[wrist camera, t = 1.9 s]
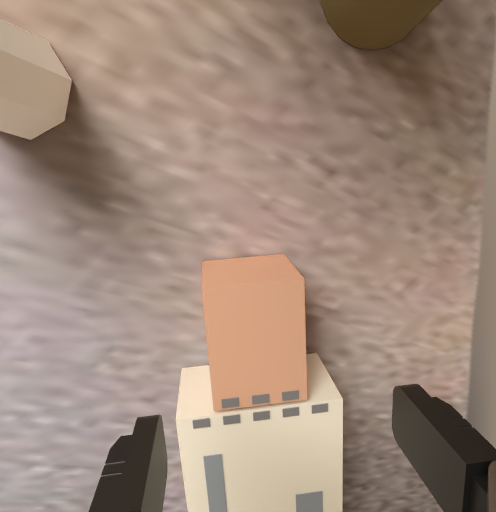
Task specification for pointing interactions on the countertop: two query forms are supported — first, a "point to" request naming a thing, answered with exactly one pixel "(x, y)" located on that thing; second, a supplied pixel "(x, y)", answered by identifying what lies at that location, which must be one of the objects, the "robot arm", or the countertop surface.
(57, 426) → the countertop surface
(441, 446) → the robot arm
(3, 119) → the salt shaker
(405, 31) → the brown pawn
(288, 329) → the orange box
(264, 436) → the cream box
